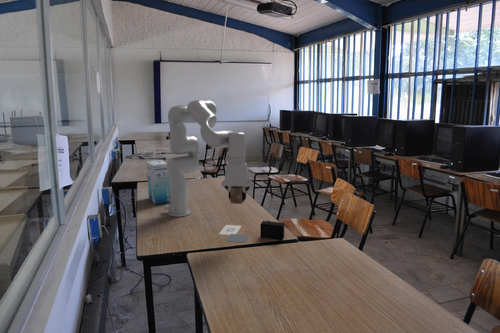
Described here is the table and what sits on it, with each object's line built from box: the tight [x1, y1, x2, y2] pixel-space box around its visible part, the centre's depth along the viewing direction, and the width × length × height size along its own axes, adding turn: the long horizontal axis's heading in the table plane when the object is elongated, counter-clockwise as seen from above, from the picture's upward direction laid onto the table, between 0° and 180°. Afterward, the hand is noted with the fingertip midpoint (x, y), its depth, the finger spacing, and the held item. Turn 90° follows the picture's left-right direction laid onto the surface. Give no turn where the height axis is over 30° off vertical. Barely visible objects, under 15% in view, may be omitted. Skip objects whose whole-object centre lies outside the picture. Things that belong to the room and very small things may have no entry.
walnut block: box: [230, 186, 244, 205], centre depth 168 cm, size 5×5×7 cm
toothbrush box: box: [145, 159, 170, 206], centre depth 231 cm, size 18×10×24 cm, turn 27°
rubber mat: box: [225, 234, 250, 244], centre depth 171 cm, size 9×9×1 cm
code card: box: [218, 224, 242, 236], centre depth 182 cm, size 8×13×1 cm, turn 169°
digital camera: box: [260, 220, 286, 241], centre depth 172 cm, size 10×5×7 cm, turn 74°
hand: (237, 199), depth 168 cm, fingers closed on walnut block, 5 cm apart
